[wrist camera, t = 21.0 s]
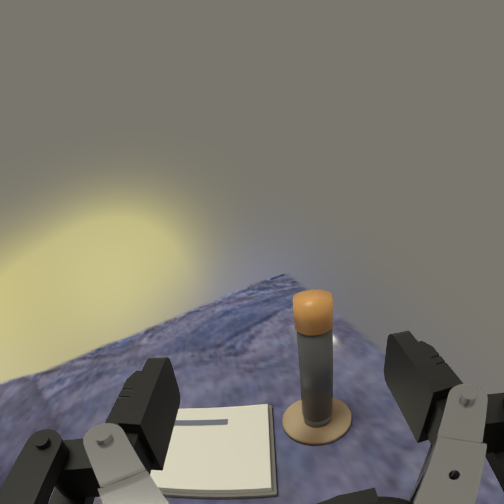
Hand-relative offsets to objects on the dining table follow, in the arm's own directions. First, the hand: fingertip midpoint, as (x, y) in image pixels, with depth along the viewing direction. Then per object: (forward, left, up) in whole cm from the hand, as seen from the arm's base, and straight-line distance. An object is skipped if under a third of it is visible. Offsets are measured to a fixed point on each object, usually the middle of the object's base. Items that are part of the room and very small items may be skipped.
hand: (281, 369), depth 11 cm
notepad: (-9, +11, -18) cm, 23 cm away
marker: (+3, +14, -17) cm, 23 cm away
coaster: (+3, +14, -18) cm, 23 cm away
